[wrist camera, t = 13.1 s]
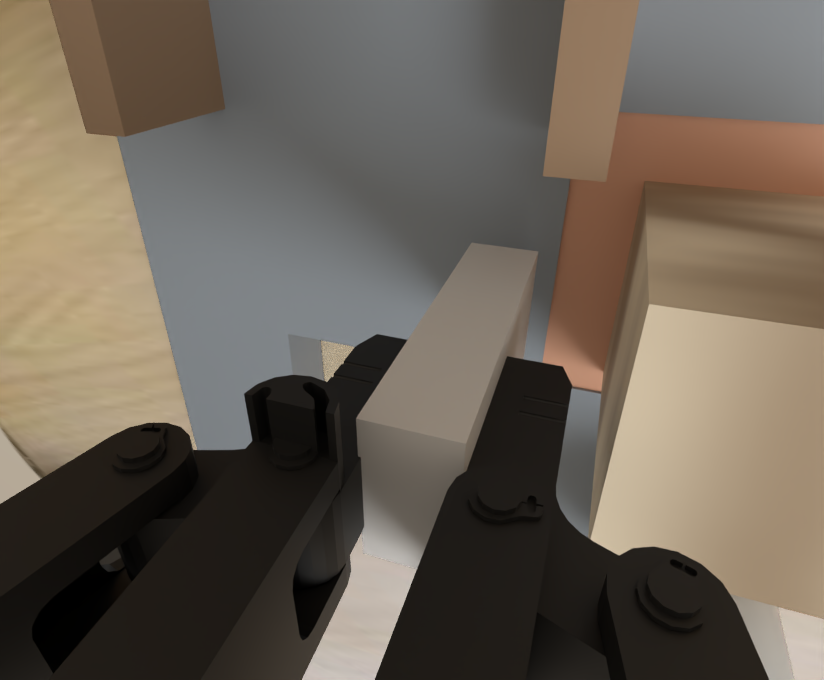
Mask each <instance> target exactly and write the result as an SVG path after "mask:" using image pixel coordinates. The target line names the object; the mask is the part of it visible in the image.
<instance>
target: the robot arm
mask: <svg viewBox="0 0 824 680" xmlns="http://www.w3.org/2000/svg"><path fill="white" fill-rule="evenodd" d="M537 257H538V251H531V250H523V249H516V248H508V247H501V246H493V245H486V244H478V243H471V244H470V246H469V248H468V249H467V251H466V252H465V254H464V255H463V257H462V258H461V260H460V261H459V263H458V264H457V266H456V267H455V269H454V270H453V272H452V273H451V275H450V276H449V278H448V279H447V281H446V282H445V284H444V286H443V287H442V289H441V290H440V292H439V293H438V295H437V296H436V298H435V299H434V301H433V302H432V304H431V305H430V307H429V308H428V310H427V311H426V313H425V314H424V316H423V317H422V319H421V320H420V322H419V323H418V325H417V327H416V328H415V330H414V331H413V333H412V334H411V336H410V337H409V339H408V340H407V339H401V338H396V337H390V336H385V335H380V334H376V335H374V336H373V337H371V338H369V339H367V340H365V341H364V342H362V343H360V344H358V345H357V346H356V347H355V348H354V349H353V351H352V352H351V353H350V354H349V356H348V357H347V358H346V359H345V361H344V364H341V366H340V367H339V368H338V369H337V371H336V372H335V373H334V377H331V378H330V379H329V381H328V382H326V381H323V380H320V379H317V378H315V377H312V376H303V375H288V376H281V377H274V378H272V379H269V380H266V381H264V382H261V383H258V384H257V385H255V386H254V387H252V388H251V389H250V390H248V391H247V392H246V393H244V397H245V403H246V408H247V414H248V419H249V425H250V431H251V436H252V442H251V443H250V444H249V445H248V446H247V447H246V449H237V450H193V448H192V444H191V440H190V436H189V435H188V434H187V433H186V432H185V431H184V430H183V429H182V428H181V427H179V426H175V425H172V424H169V423H146V424H142V425H138V426H134V427H130V428H127V429H125V430H123V431H121V432H119V433H117V434H115V435H113V436H111V437H109V438H107V439H106V440H104V441H103V442H101V443H99V444H98V445H96V446H94V447H93V448H91V449H89V450H88V451H86V452H85V453H83V454H81V455H80V456H78V457H76V458H75V459H73V460H71V461H70V462H68V463H67V464H65V465H63V466H62V467H60V468H58V469H57V470H55V471H54V472H52V473H50V474H49V475H47V476H45V477H44V478H42V479H40V480H39V481H37V482H36V483H34V484H32V485H31V486H29V487H27V488H26V489H24V490H23V491H21V492H19V493H18V494H16V495H15V496H13V497H11V498H9V499H8V500H6V501H5V502H3V503H1V504H0V680H302V678H303V676H304V674H305V671H306V669H307V667H308V665H309V663H310V661H311V659H312V657H313V655H314V653H315V651H316V649H317V647H318V645H319V643H320V640H321V638H322V636H323V634H324V632H325V630H326V628H327V626H328V624H329V622H330V620H331V618H332V616H333V614H334V612H335V609H336V607H337V605H338V603H339V601H340V599H341V597H342V595H343V593H344V591H345V589H346V587H347V585H348V581H349V577H350V573H351V565H350V554H351V552H352V550H353V548H354V546H355V544H356V542H357V540H358V538H359V536H360V534H361V532H362V542H363V554H367V555H370V556H373V557H377V558H380V559H384V560H387V561H390V562H394V563H397V564H400V565H404V566H407V567H410V568H414V569H417V571H416V573H415V576H414V579H413V581H412V584H411V587H410V589H409V592H408V594H407V597H406V600H405V602H404V605H403V607H402V610H401V613H400V615H399V618H398V620H397V623H396V626H395V628H394V631H393V634H392V636H391V639H390V641H389V644H388V647H387V649H386V652H385V654H384V657H383V660H382V662H381V665H380V668H379V670H378V673H377V675H376V678H375V680H769V678H768V675H767V673H766V671H765V669H764V666H763V664H762V662H761V659H760V657H759V655H758V653H757V650H756V648H755V646H754V643H753V641H752V639H751V636H750V634H749V632H748V630H747V627H746V625H745V623H744V620H743V618H742V616H741V613H740V611H739V609H738V607H737V604H736V603H735V601H734V600H733V598H732V597H731V595H730V593H729V592H728V590H727V589H726V587H725V586H724V584H723V583H722V582H721V581H720V580H719V579H718V578H717V577H716V576H715V575H713V574H712V573H711V572H710V571H709V570H708V569H707V568H706V567H704V566H703V565H702V564H700V563H699V562H697V561H695V560H693V559H691V558H689V557H687V556H685V555H683V554H681V553H679V552H677V551H672V550H668V549H663V548H659V547H655V546H652V547H641V548H632V549H630V550H628V551H627V552H625V553H623V554H621V555H617V554H615V553H613V552H612V551H610V550H608V549H606V548H604V547H603V546H601V545H599V544H597V543H595V542H594V541H592V540H591V539H589V538H588V537H586V536H585V535H583V534H582V533H580V532H579V531H578V530H577V529H576V528H575V527H574V526H573V525H572V524H571V523H570V522H569V521H568V520H567V518H566V517H565V515H564V514H563V512H562V511H561V509H560V506H559V503H558V500H557V497H556V483H557V477H558V471H559V465H560V458H561V452H562V446H563V440H564V433H565V427H566V421H567V415H568V409H569V402H570V396H571V390H572V384H571V382H570V380H569V378H568V376H567V374H566V372H565V370H564V368H563V366H558V365H552V364H547V363H541V362H536V361H531V360H525V359H523V358H524V353H525V345H526V338H527V331H528V323H529V316H530V309H531V301H532V294H533V287H534V279H535V272H536V265H537Z"/></svg>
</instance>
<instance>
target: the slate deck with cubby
mask: <svg viewBox="0 0 824 680" xmlns="http://www.w3.org/2000/svg"><path fill="white" fill-rule="evenodd" d="M49 2H50V5H51V9H52V12H53V16H54V19H55V23H56V26H57V30H58V34H59V37H60V41H61V44H62V48H63V51H64V55H65V58H66V62H67V65H68V69H69V72H70V76H71V80H72V83H73V87H74V90H75V94H76V97H77V101H78V104H79V108H80V111H81V115H82V118H83V122H84V126H85V129H86V133H89V134H100V135H110V136H117V138H118V142H119V146H120V150H121V154H122V158H123V162H124V166H125V169H126V173H127V177H128V181H129V185H130V189H131V193H132V197H133V201H134V205H135V208H136V212H137V216H138V220H139V224H140V228H141V232H142V236H143V240H144V244H145V247H146V251H147V255H148V259H149V263H150V267H151V271H152V275H153V279H154V283H155V286H156V290H157V294H158V298H159V302H160V306H161V310H162V314H163V318H164V322H165V325H166V329H167V333H168V337H169V341H170V345H171V349H172V353H173V357H174V361H175V364H176V368H177V372H178V376H179V380H180V384H181V388H182V392H183V396H184V400H185V403H186V407H187V411H188V415H189V419H190V423H191V427H192V431H193V435H194V439H195V442H196V446H197V450H237V449H246V447H247V446H248V445H249V444H250V443H251V442H252V436H251V431H250V425H249V419H248V414H247V408H246V403H245V397H244V393H246V392H247V391H248V390H250V389H251V388H252V387H254V386H255V385H257V384H258V383H261V382H264V381H266V380H269V379H272V378H274V377H281V376H288V375H303V376H312V377H315V378H317V379H320V380H323V381H324V373H323V362H322V351H321V340H322V341H328V342H333V343H338V344H343V345H349V346H354V347H356V346H357V345H358V344H360V343H362V342H364V341H365V340H367V339H369V338H371V337H373V336H374V335H376V334H380V335H385V336H390V337H396V338H401V339H407V340H408V339H409V337H410V336H411V334H412V333H413V331H414V330H415V328H416V327H417V325H418V323H419V322H420V320H421V319H422V317H423V316H424V314H425V313H426V311H427V310H428V308H429V307H430V305H431V304H432V302H433V301H434V299H435V298H436V296H437V295H438V293H439V292H440V290H441V289H442V287H443V286H444V284H445V282H446V281H447V279H448V278H449V276H450V275H451V273H452V272H453V270H454V269H455V267H456V266H457V264H458V263H459V261H460V260H461V258H462V257H463V255H464V254H465V252H466V251H467V249H468V248H469V246H470V244H471V243H478V244H486V245H493V246H501V247H508V248H516V249H523V250H531V251H538V257H537V265H536V272H535V279H534V287H533V294H532V301H531V309H530V316H529V323H528V331H527V338H526V345H525V353H524V358H523V359H525V360H531V361H536V362H541V363H547V364H552V365H558V366H563V368H564V370H565V372H566V374H567V376H568V378H569V380H570V382H571V384H572V390H571V396H570V402H569V409H568V415H567V421H566V427H565V433H564V440H563V446H562V452H561V458H560V465H559V471H558V477H557V483H556V497H557V500H558V503H559V506H560V509H561V511H562V512H563V514H564V515H565V517H566V518H567V520H568V521H569V522H570V523H571V524H572V525H573V526H574V527H575V528H576V529H577V530H578V531H579V532H580V533H582V534H583V535H585V536H586V537H588V532H589V521H590V510H591V500H592V489H593V478H594V467H595V456H596V445H597V434H598V423H599V412H600V402H601V391H602V380H603V371H604V366H605V361H606V357H607V352H608V348H609V343H610V338H611V334H612V329H613V325H614V320H615V315H616V311H617V306H618V302H619V297H620V292H621V288H622V283H623V278H624V274H625V269H626V265H627V260H628V255H629V251H630V246H631V242H632V237H633V232H634V228H635V223H636V219H637V214H638V209H639V205H640V200H641V196H642V191H643V186H644V182H645V181H653V182H664V183H676V184H687V185H698V186H710V187H721V188H732V189H744V190H755V191H767V192H778V193H789V194H801V195H812V196H823V197H824V0H49Z"/></svg>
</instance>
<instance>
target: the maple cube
mask: <svg viewBox="0 0 824 680" xmlns="http://www.w3.org/2000/svg"><path fill="white" fill-rule="evenodd" d="M588 538H589V539H591V540H592V541H594V542H595V543H597V544H599V545H601V546H603V547H604V548H606V549H608V550H610V551H612V552H613V553H615V554H617V555H621V554H623V553H625V552H627V551H628V550H630V549H632V548H641V547H652V546H655V547H659V548H663V549H668V550H672V551H677V552H679V553H681V554H683V555H685V556H687V557H689V558H691V559H693V560H695V561H697V562H699V563H700V564H702V565H703V566H704V567H706V568H707V569H708V570H709V571H710V572H711V573H712V574H713V575H715V576H716V577H717V578H718V579H719V580H720V581H721V582H722V583H723V584H724V586H725V587H726V589H727V590H728V592H729V593H730V594H732V595H736V596H739V597H743V598H747V599H751V600H754V601H758V602H762V603H766V604H769V605H773V606H777V607H781V608H784V609H788V610H792V611H796V612H799V613H803V614H807V615H811V616H815V617H818V618H822V619H824V197H823V196H812V195H801V194H789V193H778V192H767V191H755V190H744V189H732V188H721V187H710V186H698V185H687V184H676V183H664V182H653V181H645V182H644V186H643V191H642V196H641V200H640V205H639V209H638V214H637V219H636V223H635V228H634V232H633V237H632V242H631V246H630V251H629V255H628V260H627V265H626V269H625V274H624V278H623V283H622V288H621V292H620V297H619V302H618V306H617V311H616V315H615V320H614V325H613V329H612V334H611V338H610V343H609V348H608V352H607V357H606V361H605V366H604V371H603V380H602V391H601V402H600V412H599V423H598V434H597V445H596V456H595V467H594V478H593V489H592V500H591V510H590V521H589V532H588Z"/></svg>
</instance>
